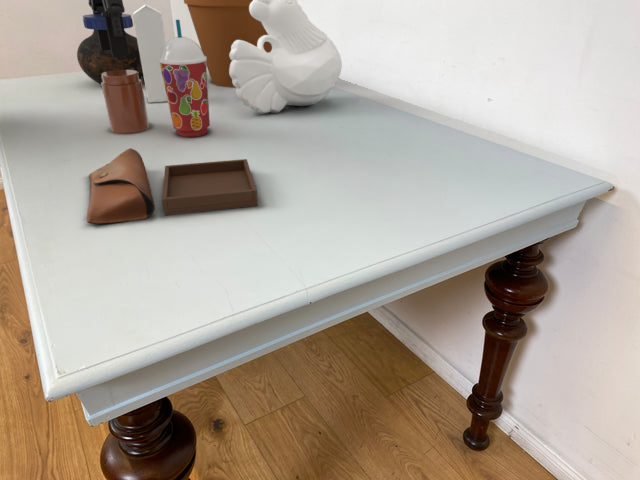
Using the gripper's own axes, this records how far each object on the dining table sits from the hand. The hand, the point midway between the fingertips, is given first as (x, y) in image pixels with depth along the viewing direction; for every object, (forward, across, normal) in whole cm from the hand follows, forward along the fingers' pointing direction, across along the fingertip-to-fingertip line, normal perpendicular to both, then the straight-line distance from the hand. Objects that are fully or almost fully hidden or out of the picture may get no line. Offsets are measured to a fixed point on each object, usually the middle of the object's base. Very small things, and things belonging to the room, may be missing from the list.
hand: (114, 52), depth 88 cm
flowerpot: (+14, +28, -39) cm, 50 cm away
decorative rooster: (+14, -3, -34) cm, 37 cm away
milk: (+14, +20, -13) cm, 28 cm away
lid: (-6, 0, 0) cm, 6 cm away
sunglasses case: (+14, -32, +10) cm, 36 cm away
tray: (+14, -38, -1) cm, 40 cm away
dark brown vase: (+14, +44, -9) cm, 48 cm away
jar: (+14, 0, 0) cm, 14 cm away
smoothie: (+14, -10, -9) cm, 20 cm away
